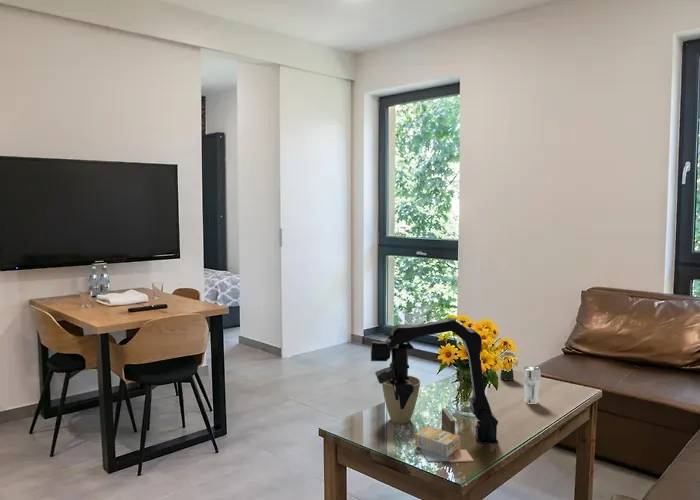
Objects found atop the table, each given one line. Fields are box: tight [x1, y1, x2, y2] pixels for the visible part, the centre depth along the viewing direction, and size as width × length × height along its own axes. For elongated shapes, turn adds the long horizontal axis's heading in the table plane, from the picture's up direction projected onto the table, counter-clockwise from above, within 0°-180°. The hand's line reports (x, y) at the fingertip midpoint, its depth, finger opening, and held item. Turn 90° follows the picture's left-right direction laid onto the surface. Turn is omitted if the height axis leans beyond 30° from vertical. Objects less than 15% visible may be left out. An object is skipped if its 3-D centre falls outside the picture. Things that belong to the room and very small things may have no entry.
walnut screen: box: [441, 408, 456, 435], centre depth 195 cm, size 5×12×9 cm, turn 6°
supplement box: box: [414, 425, 461, 457], centre depth 187 cm, size 8×5×13 cm
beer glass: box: [522, 365, 541, 403], centre depth 232 cm, size 7×7×15 cm
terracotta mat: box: [447, 449, 474, 463], centre depth 182 cm, size 8×8×1 cm
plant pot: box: [381, 374, 421, 425], centre depth 213 cm, size 15×15×16 cm
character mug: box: [499, 351, 519, 381], centre depth 264 cm, size 11×7×13 cm, turn 43°
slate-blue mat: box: [420, 448, 456, 463], centre depth 183 cm, size 10×10×1 cm
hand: (399, 404), depth 194 cm, fingers open, 9 cm apart
